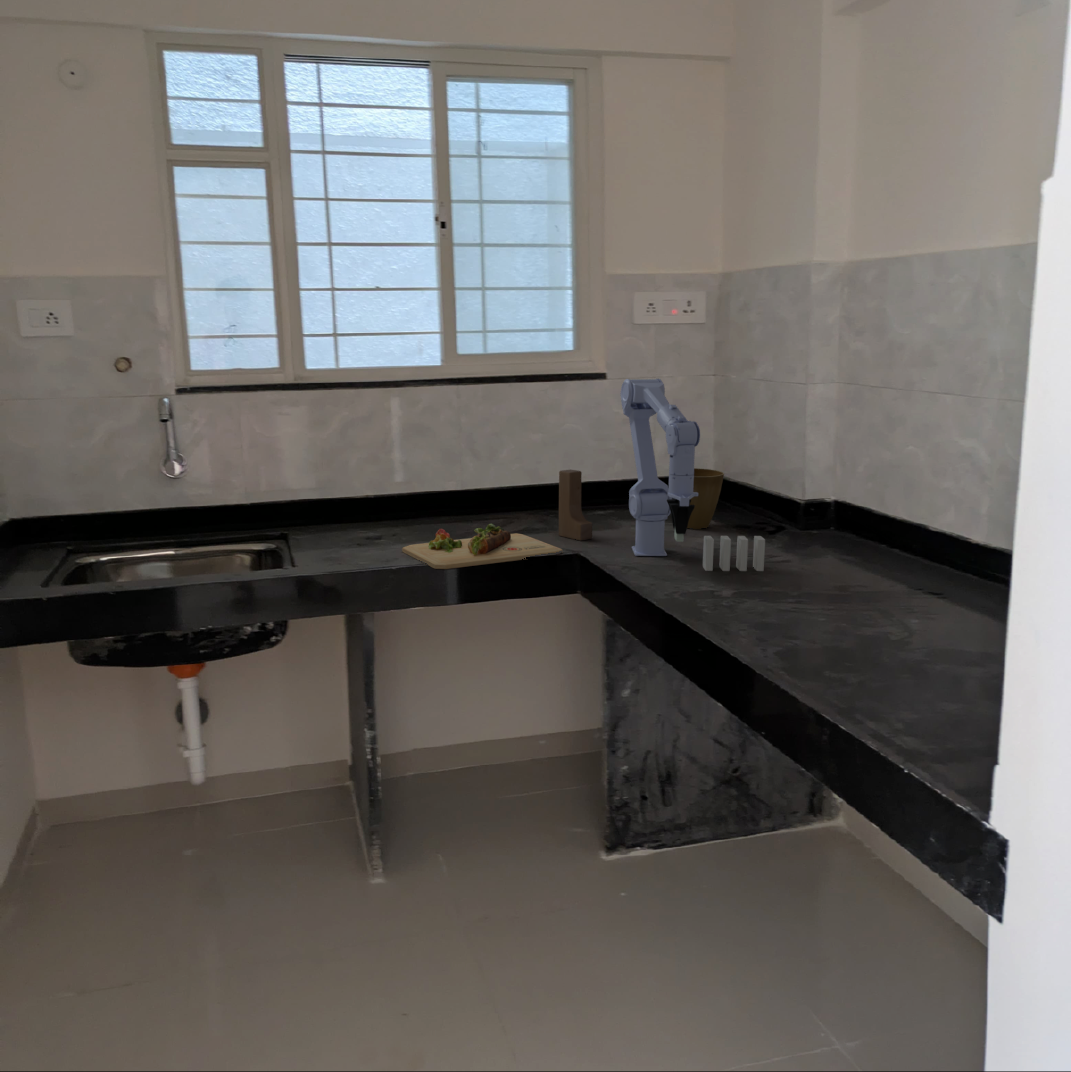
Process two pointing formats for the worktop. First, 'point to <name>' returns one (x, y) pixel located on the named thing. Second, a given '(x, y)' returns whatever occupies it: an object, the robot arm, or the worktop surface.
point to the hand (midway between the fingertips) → (679, 531)
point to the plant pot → (705, 496)
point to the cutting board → (477, 548)
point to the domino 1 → (679, 537)
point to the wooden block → (572, 507)
